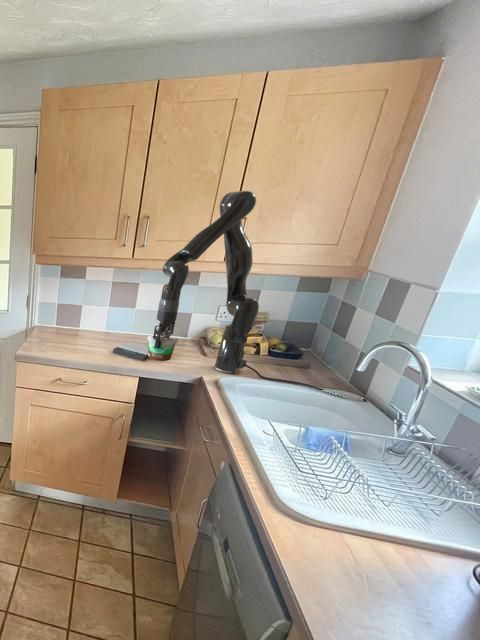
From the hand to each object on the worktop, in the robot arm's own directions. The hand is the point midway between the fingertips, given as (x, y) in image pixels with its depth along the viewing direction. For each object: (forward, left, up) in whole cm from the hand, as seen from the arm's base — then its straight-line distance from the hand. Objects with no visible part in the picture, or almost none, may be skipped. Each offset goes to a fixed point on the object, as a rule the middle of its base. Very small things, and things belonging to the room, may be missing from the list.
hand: (161, 346), depth 180 cm
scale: (+18, -16, -12) cm, 27 cm away
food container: (0, 0, -6) cm, 6 cm away
